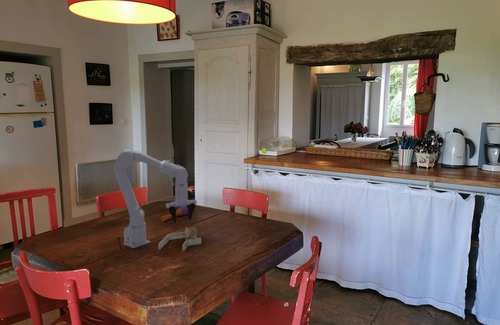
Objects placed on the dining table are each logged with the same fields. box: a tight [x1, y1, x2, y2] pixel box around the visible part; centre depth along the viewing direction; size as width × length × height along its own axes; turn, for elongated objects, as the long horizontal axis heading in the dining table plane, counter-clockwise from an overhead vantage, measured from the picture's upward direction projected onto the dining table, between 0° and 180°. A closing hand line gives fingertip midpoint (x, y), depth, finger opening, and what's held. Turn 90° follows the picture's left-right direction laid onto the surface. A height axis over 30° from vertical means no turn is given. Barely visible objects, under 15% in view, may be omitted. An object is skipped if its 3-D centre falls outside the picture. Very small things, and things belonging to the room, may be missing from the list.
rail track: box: [158, 231, 202, 252], centre depth 168 cm, size 22×17×3 cm
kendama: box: [159, 205, 188, 223], centre depth 208 cm, size 6×6×20 cm
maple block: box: [184, 226, 198, 241], centre depth 171 cm, size 4×4×6 cm
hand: (181, 220), depth 172 cm, fingers open, 7 cm apart
